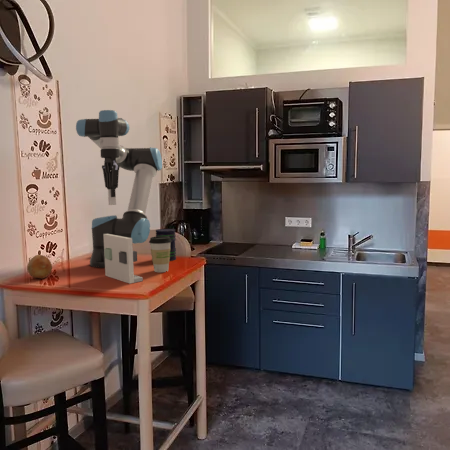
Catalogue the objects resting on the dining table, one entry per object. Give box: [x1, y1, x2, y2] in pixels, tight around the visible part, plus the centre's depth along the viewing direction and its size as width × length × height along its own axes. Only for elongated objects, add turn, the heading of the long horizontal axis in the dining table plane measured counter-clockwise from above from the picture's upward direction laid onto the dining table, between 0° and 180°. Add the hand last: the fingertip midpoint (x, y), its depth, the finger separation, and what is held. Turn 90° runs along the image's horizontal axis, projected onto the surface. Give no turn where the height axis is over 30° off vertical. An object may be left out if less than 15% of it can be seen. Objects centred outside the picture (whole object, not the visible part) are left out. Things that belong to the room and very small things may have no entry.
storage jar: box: [155, 228, 177, 262], centre depth 234 cm, size 10×10×15 cm
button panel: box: [103, 234, 144, 284], centre depth 195 cm, size 20×6×18 cm, turn 42°
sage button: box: [104, 248, 112, 260], centre depth 199 cm, size 4×6×4 cm, turn 132°
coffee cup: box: [148, 236, 171, 273], centre depth 208 cm, size 10×10×15 cm
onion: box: [26, 254, 53, 279], centre depth 198 cm, size 10×10×10 cm
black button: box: [119, 250, 138, 263], centre depth 190 cm, size 4×6×4 cm, turn 132°
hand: (112, 204), depth 198 cm, fingers closed
